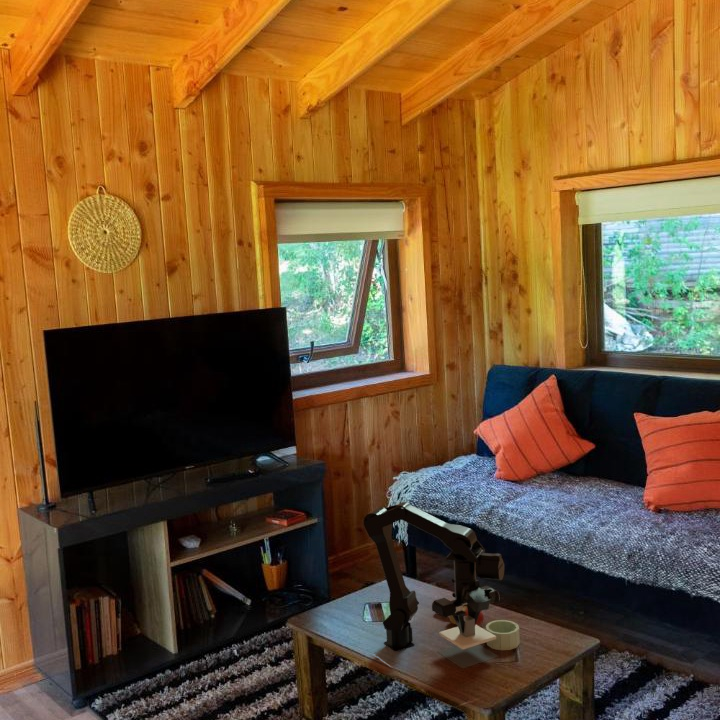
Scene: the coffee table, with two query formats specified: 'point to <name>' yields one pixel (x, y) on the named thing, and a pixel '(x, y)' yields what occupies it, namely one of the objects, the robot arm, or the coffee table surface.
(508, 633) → the bowl
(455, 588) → the robot arm
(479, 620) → the kendama
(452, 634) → the lid
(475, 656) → the gray square plate
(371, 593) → the coffee table surface
